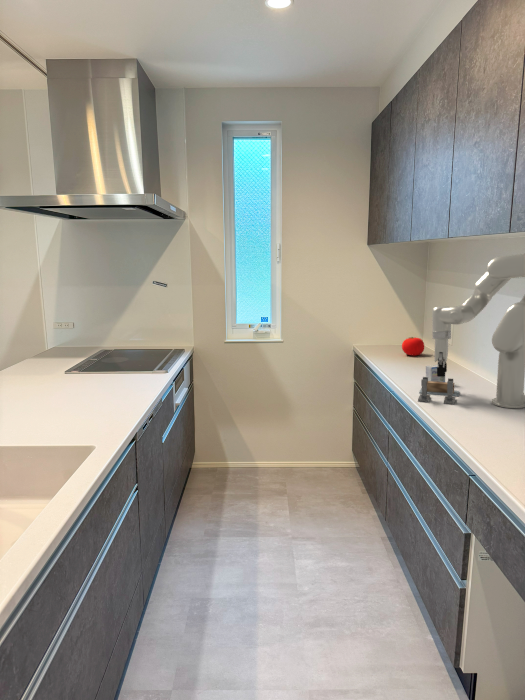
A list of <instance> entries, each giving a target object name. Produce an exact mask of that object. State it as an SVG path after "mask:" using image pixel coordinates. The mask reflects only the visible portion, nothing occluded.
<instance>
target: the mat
mask: <svg viewBox="0 0 525 700" xmlns="http://www.w3.org/2000/svg"><path fill="white" fill-rule="evenodd" d="M418 394H419V395H420V394H422V387H420V390H419V391H418ZM427 395H437V396H447V393H441V392H428V391H427ZM459 395H460V390H455V389H454V393H453V397H459Z"/></svg>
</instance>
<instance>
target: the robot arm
mask: <svg viewBox="0 0 525 700" xmlns="http://www.w3.org/2000/svg"><path fill="white" fill-rule="evenodd" d="M517 278H518V279H519V278H525V253H517V254H511V255H502V256H501V255H499V256H495V257H494V258H492V259H491V260H490V261H489V262H488V264H487V268H486V272H484V274H483V275H481V277H480V278H479V279H478V280H476V282H475V284H474V291H473V293H472V294H471V296H470V297H468V298H467V300H465V302H464V303H462V304H461V305H457V306H451V307H450V306H447V305H446V306H444V305H443V306H441V305H440V306H435V307H433V308H432V312H431V313H432V314H431V317H432V319H431V321H432V322H431V323H432V324H431V325H432V339H433V340H434V360H433V361H434V363H436V362H437V364H436V365H437V376H438V377H445V378H446V373H447V371H448V369H447V368H448V367H447V365H448V364H447V361H448V357H449V340H451V339H452V325H456V326H457V325H461V324H465V323H469V322H471V321H472V320H473V319H474V318H476V317H477V316H478V315H479V314H480V313H481V312H482V311H483V310H484V309H485V308H486V307H487V305H488V304H489V303H490V301H491V300H492V298H493V297H494V296H495V295H496V294H497V293H499V291H500V290H501V289H502V288H503V287H504V286H505V285H506V284H507V283H508V282H509V281H510V280H512V279H517ZM491 343H492V347H493V348H494V349H495V350H496V351H497V352H499V354H498V363H497V364H498V365H497V379H496V395H495V397H494V398H492V399H491V404H492V405H495V406H496V407H501V408H505V409H506V408H507V409H523V408H525V391H524V389H525V294H524V295H523V297H522V298H521V300H520V301H518V302H515V303H514V304H512V305H510V306H509V307H508V308H507V310H506V311H505V313H504V315H503V316H502V318H501V320H500V322H499V323H498V325H497V327H496V329H495V330H494V332H493V333H492V337H491Z"/></svg>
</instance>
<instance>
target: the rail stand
mask: <svg viewBox="0 0 525 700" xmlns="http://www.w3.org/2000/svg"><path fill="white" fill-rule="evenodd" d="M420 381H421V388H422V394H420V393H419V396H418V398H417V402H420V403H421V402H422V403H429V401H430V399H431V394H427V384H428V377H426V376H422V379H421V380H420ZM446 382H447V396H446V395H444V399H443V404H444V405H445V404H446V405H455V403H456V396H453V383H454V378H448V379H447V381H446Z"/></svg>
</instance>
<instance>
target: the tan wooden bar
mask: <svg viewBox="0 0 525 700" xmlns="http://www.w3.org/2000/svg"><path fill="white" fill-rule="evenodd" d="M454 390H455V382H453V393H454ZM427 391H428V392H441V393H447V381H445V382H434V381H428V384H427Z"/></svg>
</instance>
